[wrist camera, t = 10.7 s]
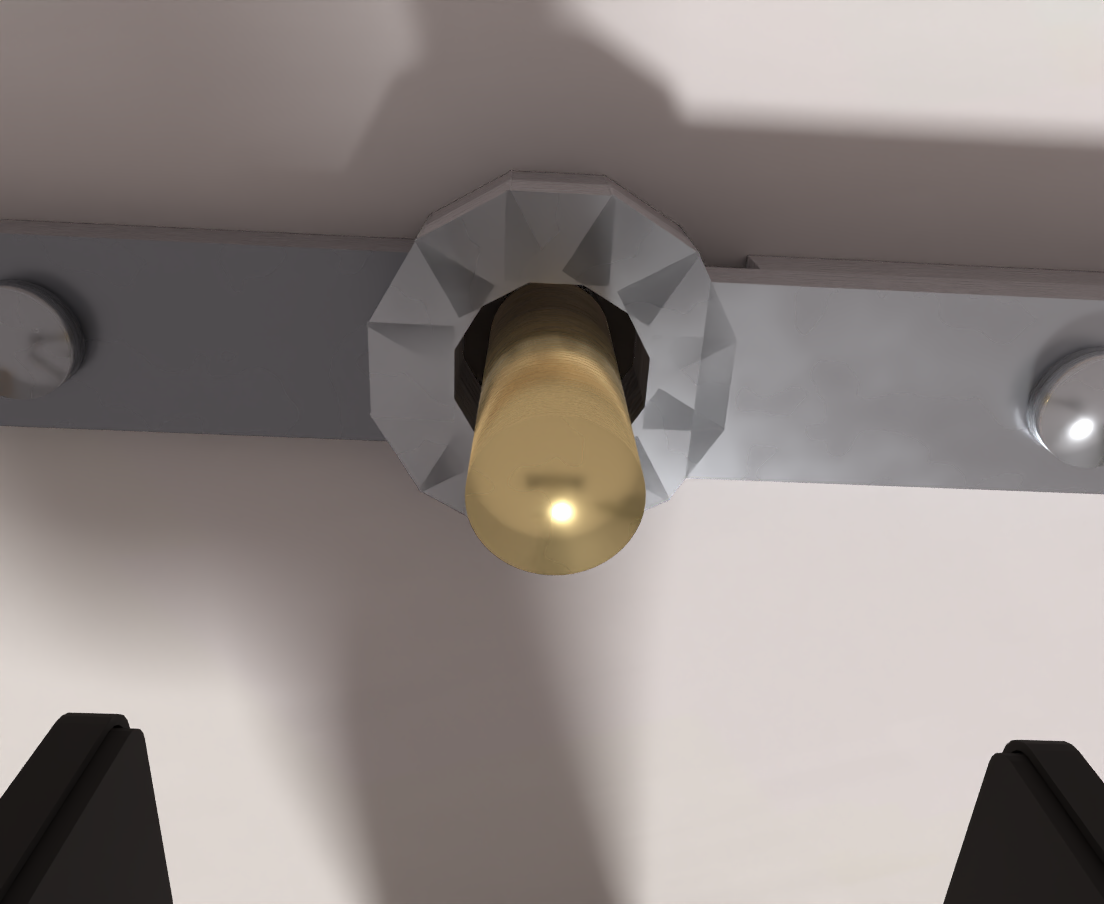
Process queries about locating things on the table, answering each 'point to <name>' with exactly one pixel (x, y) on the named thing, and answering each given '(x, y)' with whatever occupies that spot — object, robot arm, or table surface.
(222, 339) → the lower chain end
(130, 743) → the robot arm
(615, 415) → the brass pin
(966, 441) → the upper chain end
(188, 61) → the table surface
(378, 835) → the table surface
